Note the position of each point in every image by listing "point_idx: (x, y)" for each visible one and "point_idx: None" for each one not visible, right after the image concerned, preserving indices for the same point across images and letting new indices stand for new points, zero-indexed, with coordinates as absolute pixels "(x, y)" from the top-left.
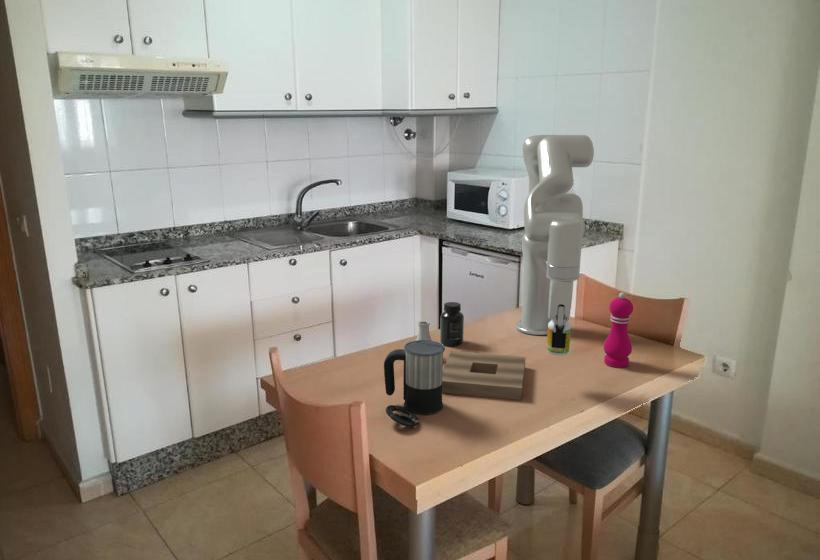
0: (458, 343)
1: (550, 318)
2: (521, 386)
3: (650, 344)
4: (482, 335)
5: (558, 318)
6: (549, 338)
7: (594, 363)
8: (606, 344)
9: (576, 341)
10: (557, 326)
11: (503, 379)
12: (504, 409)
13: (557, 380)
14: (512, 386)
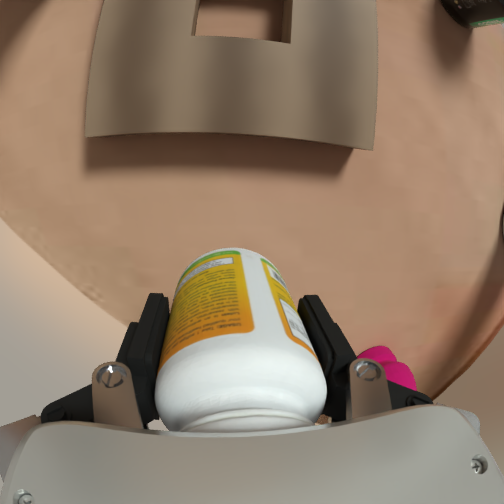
0: (449, 8)
1: (21, 440)
2: (96, 134)
3: (427, 391)
4: (500, 85)
5: (1, 474)
6: (190, 299)
7: (375, 328)
8: (390, 380)
9: (472, 287)
10: (14, 422)
11: (145, 65)
12: (44, 104)
13: (265, 242)
14: (92, 104)
